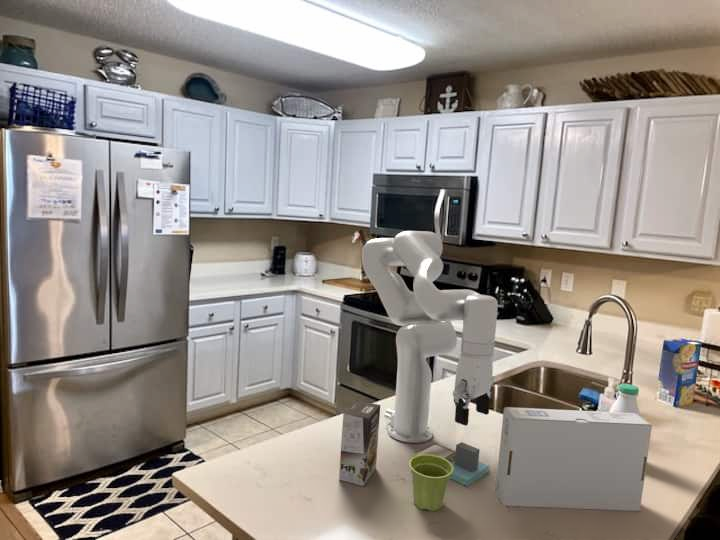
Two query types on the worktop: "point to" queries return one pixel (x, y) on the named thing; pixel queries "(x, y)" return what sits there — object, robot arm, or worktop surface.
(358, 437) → the coffee box
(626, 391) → the milk bottle
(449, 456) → the ticket board
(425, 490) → the plant pot
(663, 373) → the blue tall rectangular box
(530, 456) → the packaging
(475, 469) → the block on base
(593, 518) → the worktop surface
